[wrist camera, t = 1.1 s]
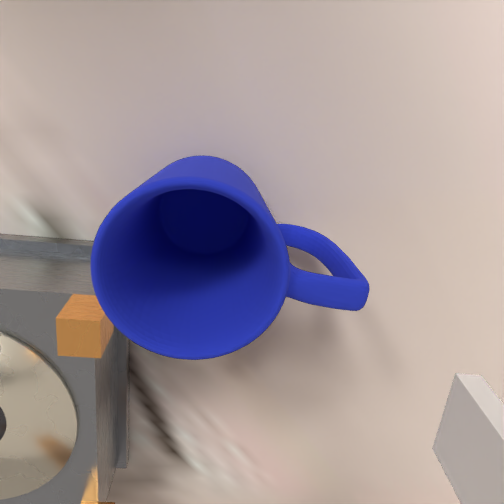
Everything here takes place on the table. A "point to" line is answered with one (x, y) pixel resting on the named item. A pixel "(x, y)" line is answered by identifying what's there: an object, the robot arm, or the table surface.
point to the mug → (208, 263)
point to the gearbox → (58, 377)
